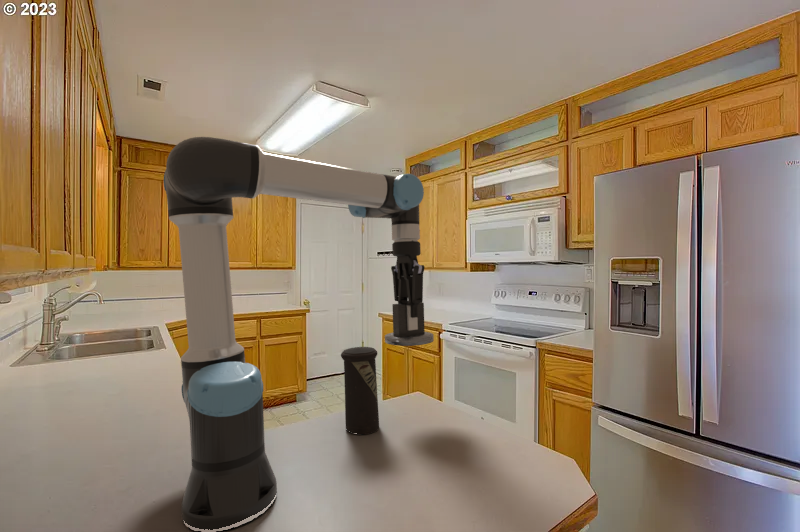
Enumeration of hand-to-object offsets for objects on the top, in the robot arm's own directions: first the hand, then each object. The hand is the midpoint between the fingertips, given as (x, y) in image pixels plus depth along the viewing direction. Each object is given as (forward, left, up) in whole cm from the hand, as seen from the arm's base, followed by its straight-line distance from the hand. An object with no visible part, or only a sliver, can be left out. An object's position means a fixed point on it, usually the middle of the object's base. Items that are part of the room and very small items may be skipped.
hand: (408, 328), depth 104 cm
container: (0, +15, -23) cm, 28 cm away
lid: (0, 0, -3) cm, 3 cm away
